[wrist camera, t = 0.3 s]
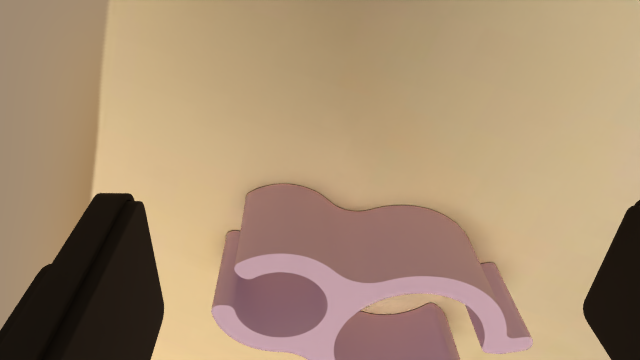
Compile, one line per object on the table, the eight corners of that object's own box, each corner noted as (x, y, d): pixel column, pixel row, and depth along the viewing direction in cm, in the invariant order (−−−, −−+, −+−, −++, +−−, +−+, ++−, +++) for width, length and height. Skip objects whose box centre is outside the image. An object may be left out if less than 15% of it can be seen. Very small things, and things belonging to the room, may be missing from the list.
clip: (206, 275, 36) (188, 352, 30) (272, 143, 30) (266, 208, 24) (426, 345, 42) (447, 422, 36) (519, 245, 36) (562, 319, 30)
